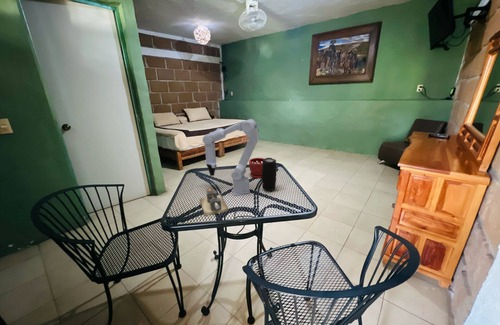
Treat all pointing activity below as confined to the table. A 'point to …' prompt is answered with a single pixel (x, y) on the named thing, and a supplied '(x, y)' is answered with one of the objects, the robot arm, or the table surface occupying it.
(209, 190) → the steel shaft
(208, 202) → the bearing board
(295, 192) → the table surface
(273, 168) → the portable speaker
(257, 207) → the table surface
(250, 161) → the plant pot
